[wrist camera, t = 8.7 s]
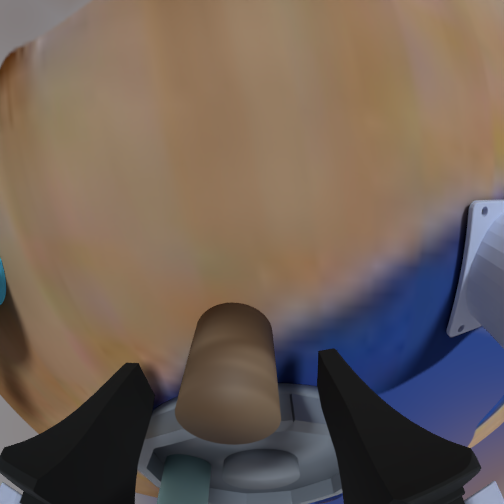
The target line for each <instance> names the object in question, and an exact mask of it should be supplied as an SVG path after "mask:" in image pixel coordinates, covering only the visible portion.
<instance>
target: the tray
mask: <svg viewBox="0 0 504 504" xmlns="http://www.w3.org/2000/svg"><path fill="white" fill-rule="evenodd" d="M278 392H279V403H280V413H281V422H280V425H279V427H278V429H277V430H276V431H275V432H274V433H273V434H271V435H270V436H268V437H266V438H264V439H262V440H260V441H256V442H253V443H248V444H239V445H228V444H219V443H214V442H210V441H206V440H203V439H201V438H198V437H196V436H194V435H192V434H191V433H189V432H188V431H186V430H185V429H184V428H183V427H182V426H181V425H180V424H179V423H178V421H177V419H176V417H175V407H176V403H177V399H178V397H176V398H173V399H171V400H169V401H167V402H165V403H163V404H161V405H160V406H159V407H157V408H156V409H155V410H153V411H152V416H151V419H150V423H149V426H148V430H147V433H146V437H145V440H144V443H143V447H142V450H141V454H140V458H139V462H138V468H137V469H138V470H139V471H140V472H141V473H142V474H144V475H145V476H146V477H147V478H148V479H149V480H150V481H151V482H152V483H153V484H154V485H156V486H157V487H159V488H160V485H161V480H162V475H163V470H164V466H165V461H166V457H167V456H169V455H173V454H183V455H190V456H194V457H198V458H201V459H203V460H205V461H207V462H208V463H210V465H211V476H210V487H209V498H208V504H308V503H312V502H316V501H319V500H323V499H326V498H329V497H332V496H335V495H338V494H341V493H343V492H342V485H341V479H340V473H339V467H338V462H337V457H336V453H335V450H334V446H333V443H332V440H331V437H330V434H329V430H328V427H327V424H326V421H325V418H324V415H323V411H322V408H321V403H320V398H319V393H318V387H317V386H311V385H301V384H289V383H278Z"/></svg>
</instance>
